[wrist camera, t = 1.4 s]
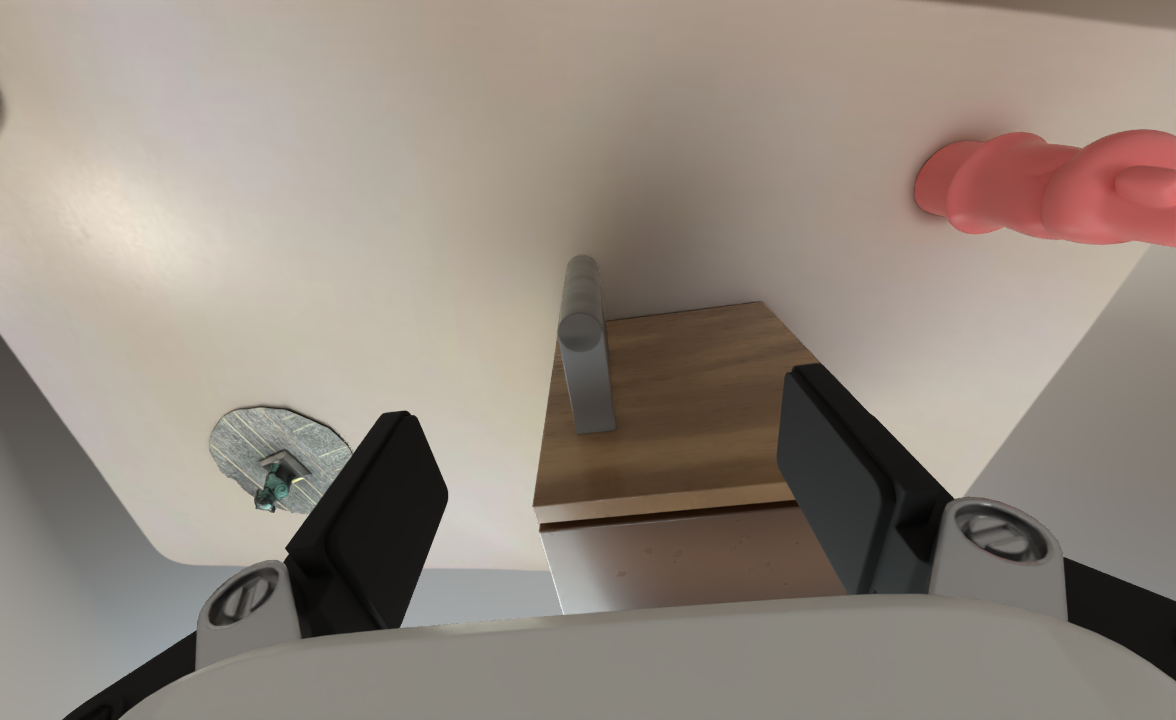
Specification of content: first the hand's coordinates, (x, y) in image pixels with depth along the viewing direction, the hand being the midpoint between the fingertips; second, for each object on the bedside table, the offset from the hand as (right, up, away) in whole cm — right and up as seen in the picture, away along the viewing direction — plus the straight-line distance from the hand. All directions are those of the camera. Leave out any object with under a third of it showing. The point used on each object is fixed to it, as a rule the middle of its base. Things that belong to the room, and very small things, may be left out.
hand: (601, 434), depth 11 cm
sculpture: (-26, -7, +25) cm, 37 cm away
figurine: (+21, +13, +14) cm, 28 cm away
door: (+4, +7, +17) cm, 19 cm away
